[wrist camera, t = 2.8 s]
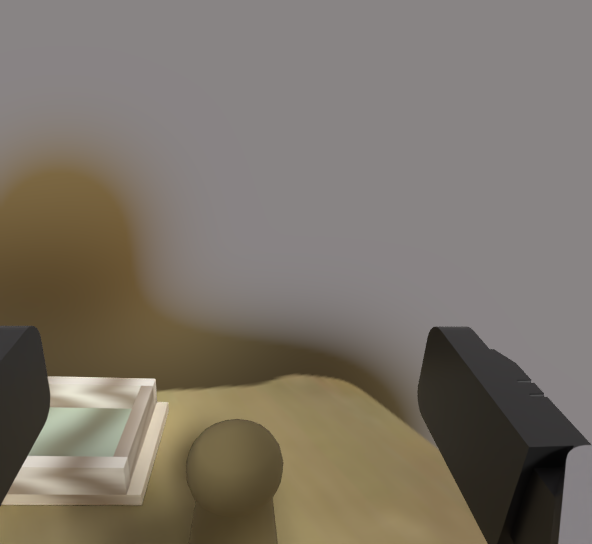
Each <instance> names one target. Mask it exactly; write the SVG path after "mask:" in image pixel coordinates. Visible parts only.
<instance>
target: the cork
mask: <svg viewBox="0 0 592 544" xmlns="http://www.w3.org/2000/svg"><path fill="white" fill-rule="evenodd" d="M282 471H283V459H282V455H281V450H280V446H279V444H278V442H277V441H276V439H275V438H274V437H273V435H272V434H271V433H270V431H268V430H267V429H266V428H264V427H263V426H262V425H260V424H257V423H255V422H252V421H248V420H240V419H235V420H225V421H222V422H219V423H216V424H214V425H212V426H210V427H209V428H207V429H205V430H204V431H203V432H202V434H201V435H200V436H199V437H198V438H197V439H196V440H195V442H194V443H193V445H192V447H191V449H190V452H189V455H188V458H187V472H186V473H187V482H188V485H189V487H190V490H191V492H192V494H193V497H194V499H195V500H196V501H195V508H194V514H193V521H192V527H191V533H190V540H189V544H278V542H277V533H276V525H275V516H274V507H273V496H274V494H275V493H276V491H277V489H278V487H279V485H280V482H281V477H282Z"/></svg>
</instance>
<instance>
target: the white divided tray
mask: <svg viewBox="0 0 592 544" xmlns="http://www.w3.org/2000/svg"><path fill="white" fill-rule="evenodd" d="M48 382H49V388H50V409H49V414H48V417H47V420H46V423H45V425H44V427H43V429H42V431H41V432H40V434H39V436H38V438H37V440H36V442H35V443H34V445H33V447H32V449H31V451H30V453H29V454H28V456H27V458H26V460H25V462H24V464H23V465H22V467H21V469H20V471H19V473H18V475H17V476H16V478H15V480H14V482H13V484H12V486H11V487H10V489H9V491H8V493H7V495H6V497H5V498H4V500H3V502H2V504H1V505H142V503H143V500H144V496H145V493H146V489H147V486H148V482H149V479H150V475H151V472H152V468H153V465H154V461H155V458H156V454H157V451H158V447H159V444H160V440H161V437H162V433H163V430H164V426H165V423H166V419H167V416H168V412H169V405H168V402H157V394H156V379H138V378H94V377H92V378H91V377H48Z"/></svg>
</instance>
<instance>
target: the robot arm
mask: <svg viewBox="0 0 592 544" xmlns="http://www.w3.org/2000/svg"><path fill="white" fill-rule="evenodd" d="M418 404H419V409H420V412H421V415H422V417H423V419H424V421H425V423H426V425H427V427H428V429H429V431H430V433H431V435H432V437H433V439H434V441H435V443H436V445H437V446H438V448H439V450H440V452H441V454H442V456H443V458H444V460H445V462H446V464H447V466H448V468H449V470H450V472H451V474H452V475H453V477H454V479H455V481H456V483H457V485H458V487H459V489H460V491H461V493H462V495H463V497H464V499H465V501H466V503H467V504H468V506H469V508H470V510H471V512H472V514H473V516H474V518H475V520H476V522H477V524H478V526H479V528H480V530H481V532H482V533H483V535H484V537H485V539H486V541H487V543H488V544H592V445H591V444H590V443H589V442H588V441H587V440H586V439H585V438H584V436H583V435H582V434H581V433H580V432H579V431H578V430H577V429H576V428H575V427H574V426H573V424H572V423H571V422H570V421H569V420H568V419H567V418H566V417H565V416H564V415H563V414H562V413H561V411H560V410H559V409H558V408H557V407H556V406H555V405H554V404H553V403H552V402H551V401H550V400H549V398H547V397H544V393H543V392H542V391H541V390H540V389H539V388H538V387H537V385H536V384H535V383H531V379H530V378H529V377H528V376H527V375H526V374H525V373H524V371H523V370H522V369H521V368H520V367H519V366H518V365H517V364H516V363H515V362H513V361H511V360H510V359H508V358H507V357H505V356H503V355H502V354H500V353H499V352H497V351H496V350H494V349H493V350H492V349H489V348H488V347H487V346H486V345H485V343H483V341H482V340H481V339H480V338H479V337H478V335H477V334H476V333H475V332H474V331H473V330H472V329H471V328H469V327H433V328H432V329H431V330H430V332H429V335H428V338H427V343H426V349H425V354H424V359H423V364H422V369H421V375H420V379H419V384H418ZM49 409H50V388H49V382H48V376H47V371H46V365H45V359H44V354H43V348H42V342H41V337H40V333H39V331H38V330H37V328H35V327H34V326H0V506H1V504H2V502H3V500H4V498H5V497H6V495H7V493H8V491H9V489H10V487H11V486H12V484H13V482H14V480H15V478H16V476H17V475H18V473H19V471H20V469H21V467H22V465H23V464H24V462H25V460H26V458H27V456H28V454H29V453H30V451H31V449H32V447H33V445H34V443H35V442H36V440H37V438H38V436H39V434H40V432H41V431H42V429H43V427H44V425H45V423H46V420H47V417H48V414H49Z"/></svg>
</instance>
